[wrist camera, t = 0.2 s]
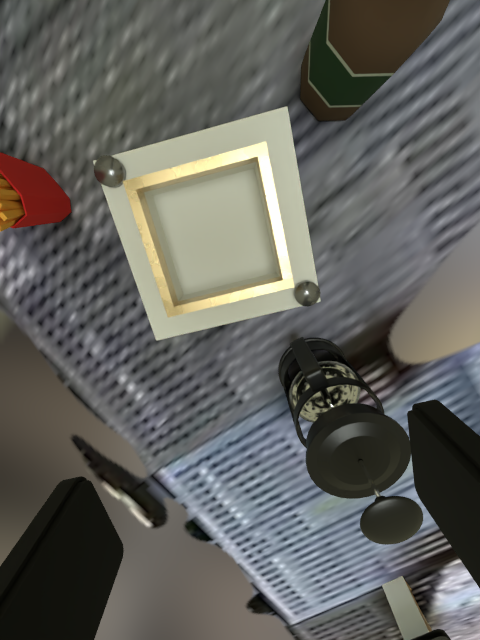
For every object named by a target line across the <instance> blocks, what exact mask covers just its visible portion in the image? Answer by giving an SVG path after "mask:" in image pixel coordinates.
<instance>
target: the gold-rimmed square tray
mask: <svg viewBox="0 0 480 640" xmlns="http://www.w3.org/2000/svg"><path fill="white" fill-rule="evenodd" d="M93 162H94V173H95V176H96V178H97V180H98V181H99V182H100V183H101V185H102V188H103V191H104V194H105V196H106V199H107V202H108V205H109V208H110V211H111V213H112V216H113V219H114V222H115V225H116V228H117V230H118V233H119V236H120V239H121V242H122V245H123V247H124V250H125V253H126V256H127V259H128V262H129V264H130V267H131V270H132V273H133V276H134V279H135V281H136V284H137V287H138V290H139V293H140V296H141V298H142V301H143V304H144V307H145V310H146V313H147V315H148V318H149V321H150V324H151V327H152V330H153V332H154V335H155V338H156V341H157V340H161V339H165V338H170V337H174V336H178V335H182V334H186V333H191V332H195V331H199V330H203V329H207V328H212V327H216V326H220V325H224V324H229V323H233V322H237V321H241V320H245V319H250V318H254V317H258V316H262V315H266V314H271V313H275V312H279V311H283V310H288V309H292V308H296V307H300V306H311V305H313V304H315V303H317V302H321V300H320V289H319V287H318V283H317V277H316V271H315V265H314V260H313V254H312V248H311V242H310V236H309V230H308V224H307V219H306V213H305V207H304V201H303V195H302V189H301V184H300V178H299V172H298V166H297V160H296V154H295V149H294V143H293V137H292V131H291V125H290V119H289V113H288V108H287V106H286V107H283V108H279V109H276V110H272V111H269V112H265V113H262V114H258V115H254V116H251V117H247V118H244V119H240V120H237V121H233V122H230V123H226V124H223V125H219V126H215V127H212V128H208V129H205V130H201V131H198V132H194V133H191V134H187V135H184V136H180V137H176V138H173V139H169V140H166V141H162V142H159V143H155V144H152V145H148V146H145V147H141V148H137V149H134V150H130V151H127V152H123V153H120V154H116V155H113V156H107V155H106V156H101V157H100V158H98V159H97V160H95V161H93Z"/></svg>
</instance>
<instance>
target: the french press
mask: <svg viewBox="0 0 480 640" xmlns="http://www.w3.org/2000/svg"><path fill="white" fill-rule="evenodd" d="M290 346H291V347H290V348H288V349H287V350H286V352H285V353H284V354H283V356H282V358H281V360H280V364H279V378H280V381H281V383H282V386H283V387H284V390H285V393H286V397H287V400H288V404H289V407H290V411H291V414H292V418H293V421H294V425H295V428H296V432H297V435H298V437H299V439H300V441H301V443H302V444H303V445H304V446H305V447H306V448H307V451H306V466H307V470H308V473H309V475H310V477H311V479H312V480H313V481H314V483H315V484H316V485H317V486H318V487H319V488H321V489H322V490H323V491H325V492H327V493H329V494H331V495H334V496H337V497H341V498H363V497H369V496H372V495H375V496H376V499H375V502H373V503H372V504H371V505H369V506H368V507H367V508H366V509H365V511H364V512H363V514H362V516H361V520H360V528H361V530H362V533H363V534H364V535H365V536H366V537H367V538H368V539H369V540H371V541H373V542H375V543H379V544H396V543H400V542H403V541H405V540H407V539H409V538H410V537H412V536H413V535H414V534H415V533H416V532H417V531H418V530H419V529H420V527H421V525H422V522H423V513H422V510H421V508H420V506H419V505H418V504H417V503H416V502H415V501H413V500H411V499H409V498H406V497H401V496H390V497H385V496H381V495H380V492H382V491H384V490H386V489H387V488H389V487H390V486H391V485H393V484H394V483H395V482H396V481H397V480H398V479H399V478H400V477H401V476H402V475H403V473H404V472H405V470H406V469H407V466H408V464H409V461H410V457H411V445H410V440H409V437H408V435H407V434H406V432H405V430H404V429H403V428H402V427H401V426H400V425H399V424H398V423H397V422H396V421H395V420H393V419H392V418H390V417H388V416H386V415H385V414H384V409H383V406H382V403H381V402H380V400H379V399H378V397H377V396H376V395H375V394H374V392H373V391H372V390H371V389H370V387H369V386H368V385H367V384H366V383H365V381H364V380H363V379H362V378H361V377H360V375H359V374H358V373H357V372H356V370H355V369H354V368H353V367H352V366H351V364H350V363H349V362H348V361H347V359H346V358H345V356H344V354H343V353H342V351H341V350H340V348H339V347H338V346H336V345H335V344H334V343H332V342H331V341H328V340H326V339H321V338H308V339H304V338H303V337H301V338H299V339H297V340H295V341H293V342H292V343H290ZM315 350H326V351H328V352H329V353H331V354H332V355H333V356H334V358H335V359H336V362H334V361H317V360H316V358H315V357H314V355H313V353H312V352H311V351H315ZM296 359H297V361H298V364H299V366H300V368H301V370H300V371H299V372H298V374H297V375H296V376H295V378H294V380H293V382H292V383H291V381H290V379H289V375H288V369H289V367H290V365H291V364H292V363H293V362H294V361H295V360H296ZM360 388H363V389H365V390H366V391H367V392H368V394H369V395H370V396H371V397H372V399H373V400H374V401H375V403H376V405H377V408H375V407H372V406H369V405H367V404H360V403H357V402H358V399H359V396H360ZM299 416H300V417H301V418H303V419H305V420H307V421H310V422H313V424H312V426H311V428H310V430H309V432H308V435H307V440H306V439H305V438H304V437H303V434H302V431H301V428H300V425H299V421H298V418H299Z"/></svg>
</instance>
